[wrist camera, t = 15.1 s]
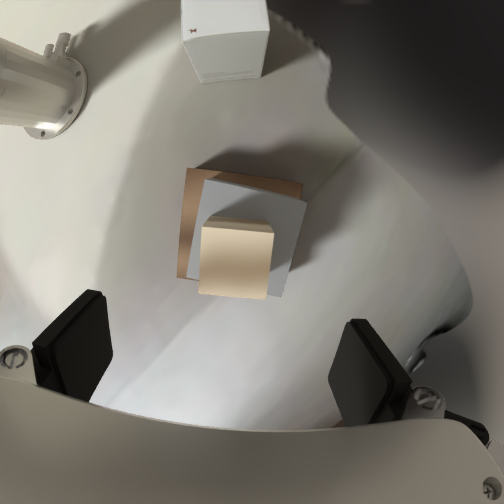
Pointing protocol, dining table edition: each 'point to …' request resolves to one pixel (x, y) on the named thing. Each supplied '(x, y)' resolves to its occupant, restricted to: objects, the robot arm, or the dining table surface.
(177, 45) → the dining table surface
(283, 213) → the top block
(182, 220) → the base block
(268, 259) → the ash cube
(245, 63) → the supplement box
